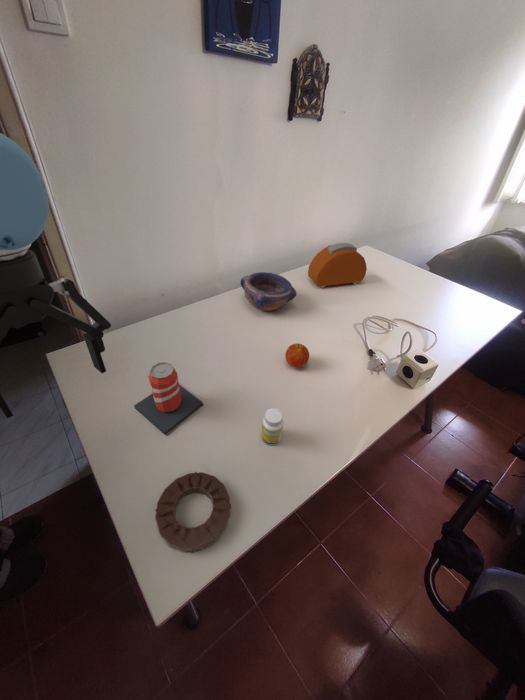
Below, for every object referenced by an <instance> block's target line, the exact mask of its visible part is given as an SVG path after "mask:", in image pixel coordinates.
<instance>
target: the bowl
mask: <svg viewBox="0 0 525 700" xmlns="http://www.w3.org/2000/svg"><path fill="white" fill-rule="evenodd" d="M240 286H241V288H242V290H243V292H244V297H245V299H246V300H247V302H248V303H249V304H250V305H251V306H253V307H254V308H255V309H257V310H259V311H262V312H271V311H275V310H278V309H280V308H281V307H283V306H284V305H285V304H287V303H289V302H291V301H292V300H293V299H295V298H296V296H297V291H296V289H295V288H294V287H293V285H292V283H291V282H290V281H289V280H288V279H287V278H286V277H284V276H282V275H280V274H277V273H273V272H265V271H263V272H261V271H258V272H253V273H251V274H249V275H244V276H242V278H241V279H240Z"/></svg>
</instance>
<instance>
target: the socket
mask: <svg viewBox="0 0 525 700" xmlns="http://www.w3.org/2000/svg"><path fill="white" fill-rule="evenodd" d="M194 493H195V494H196V493H197V494H198V493H200V494H203V495H205V496H207V498H208V499H210V502H211V503H212V509H211V513H210V515H209V517H208V518H207V520H205V522H203V523H201V524H200V525H198V526H194V527H187V526H184V525H181V523H180V522H179V521H178V520H177V519H176V512H177V507H178V506H179V503H180V502H181V501H182V500H183V499H184V498H185V497H187V496H188V495H190V494H194ZM231 509H232V503H231V498H230V495H229V492H228V490H227V488H226V486H225V484H224V483H223V482H222V481H221V480H219V478H218V477H216V476H214V475H213V474H209V473H206V472H204V471H203V472H202V471H201V472H200V471H199V472H197V471H195V472H189V473H186V474H184V475H181V476H180V477H177V478H175V480H173V481H172V482H171V483H170V484H169V485H168V486H166V488H165V489H164V490H163V492H162V494H161V496H160V498H159V499H158V501H157V504H156V509H154V511H155V516H154V519H155V523H156V526H157V531H158V533H159V535H160V537H161V538H162V539H163V541H164V542H165V543H166V544H167V545H168V546H169V547H170V548H172V549H175V550H177V551H180V552H182V553H191V554H193V553H194V552H200V551H202V550H204V549H206V548H208V547H209V546H211V545H213V544H215V543H216V541H218V539H219V538H220V537H221V535H222V534H224V532H225V530H226V528H227V525H228V523H229V520H230V518H231Z"/></svg>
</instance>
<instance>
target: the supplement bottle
mask: <svg viewBox="0 0 525 700" xmlns="http://www.w3.org/2000/svg"><path fill="white" fill-rule="evenodd" d="M283 418H284V415H283V412H282V411H281V410H280V409H279V408H276V407H272V408H269V409H267V410H266V411H265V412H264V417H263V419H262V422H261V423H262V424H261V435H260V437H261V440H262V441H263V442H264V444H266V445H268V446H276V445H278V444H279V443H280V442H281V439H282V435H283V430H284V429H283V428H284V419H283Z"/></svg>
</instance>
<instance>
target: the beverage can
mask: <svg viewBox="0 0 525 700" xmlns="http://www.w3.org/2000/svg"><path fill="white" fill-rule="evenodd" d="M147 377H148V381H149V384H150V388H151V389H150V390H151V392H152V393H153V397H154V401H155V404H156V407H157V409H158V410H160V411H162V412H171V411H174V410H175V409H177V408H178V407H180V404H181V401H182V399H181V393H180V387H179V385H180V382H179V376H178V373H177V371H176V368H175V367H174V366H173V364H172V363H169V362H167V361H164V362H157V363H156V364H154V365H152V366H151V368H150V370H149V374H148V376H147ZM152 393H151V394H152Z"/></svg>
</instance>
